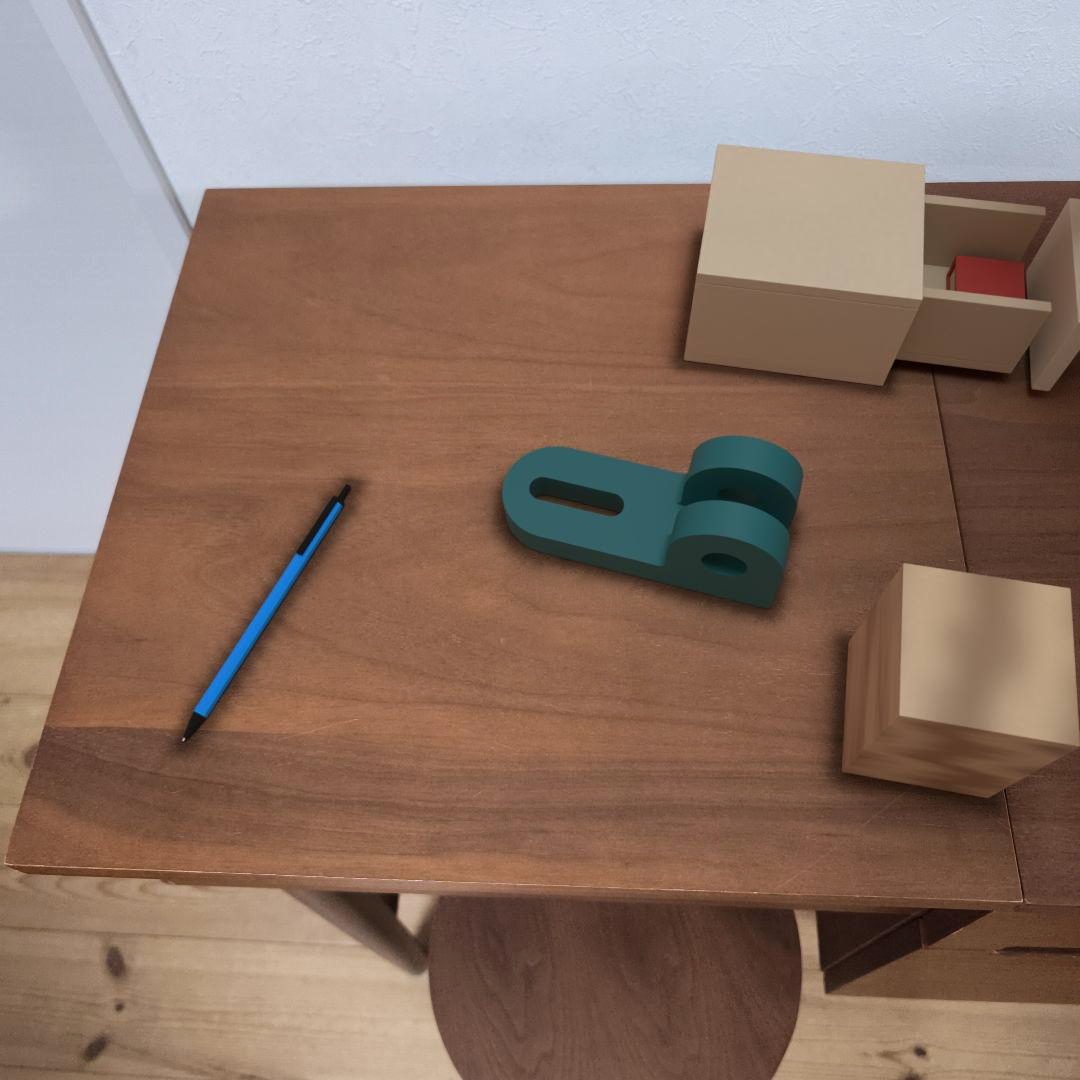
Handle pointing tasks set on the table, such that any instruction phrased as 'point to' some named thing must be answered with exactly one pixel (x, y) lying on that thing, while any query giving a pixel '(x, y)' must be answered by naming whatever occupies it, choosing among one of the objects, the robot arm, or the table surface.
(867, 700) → the stand
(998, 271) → the book
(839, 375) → the cabinet
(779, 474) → the bracket
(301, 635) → the table surface
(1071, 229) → the drawer
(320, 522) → the pen
